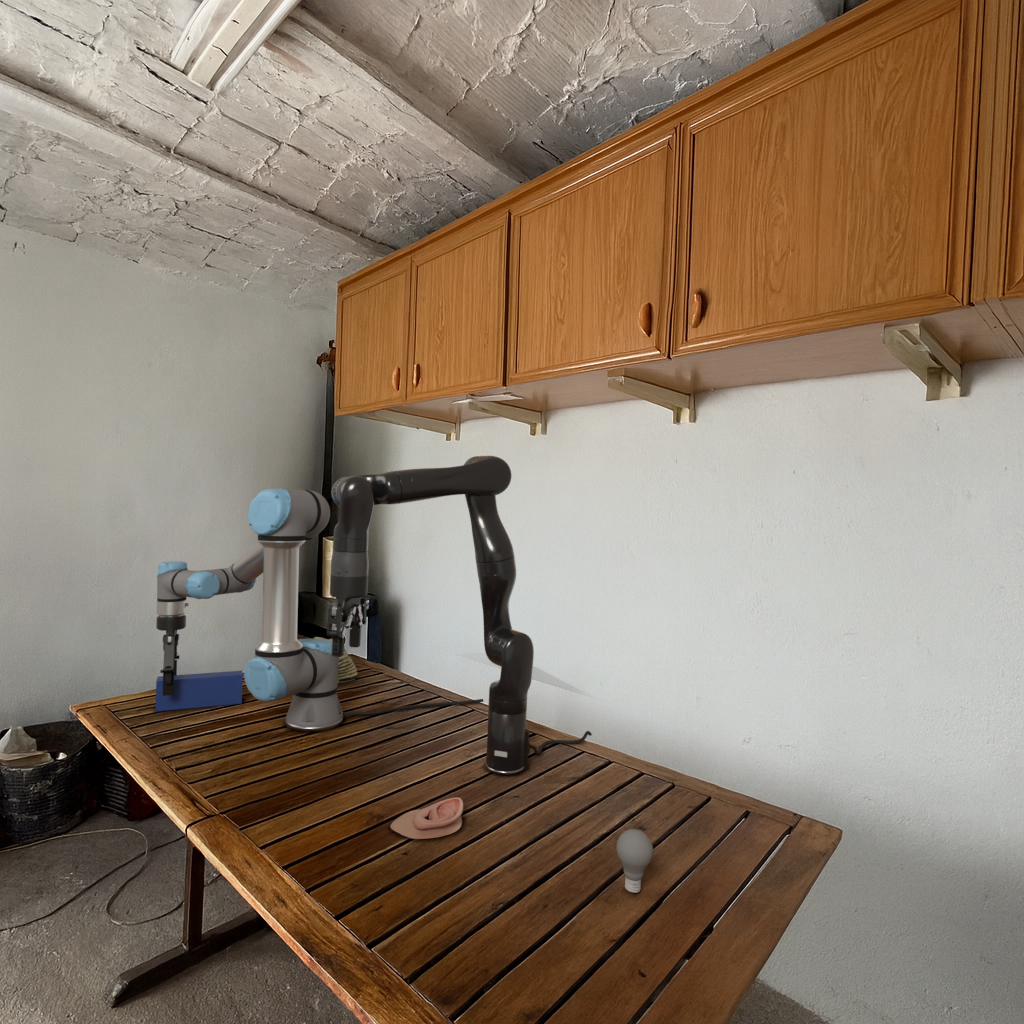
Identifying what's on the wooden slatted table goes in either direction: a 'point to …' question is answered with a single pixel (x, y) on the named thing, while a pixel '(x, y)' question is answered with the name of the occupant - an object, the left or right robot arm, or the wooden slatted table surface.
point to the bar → (201, 690)
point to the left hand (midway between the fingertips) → (169, 688)
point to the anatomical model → (431, 820)
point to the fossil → (345, 667)
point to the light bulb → (634, 857)
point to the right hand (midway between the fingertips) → (346, 651)
